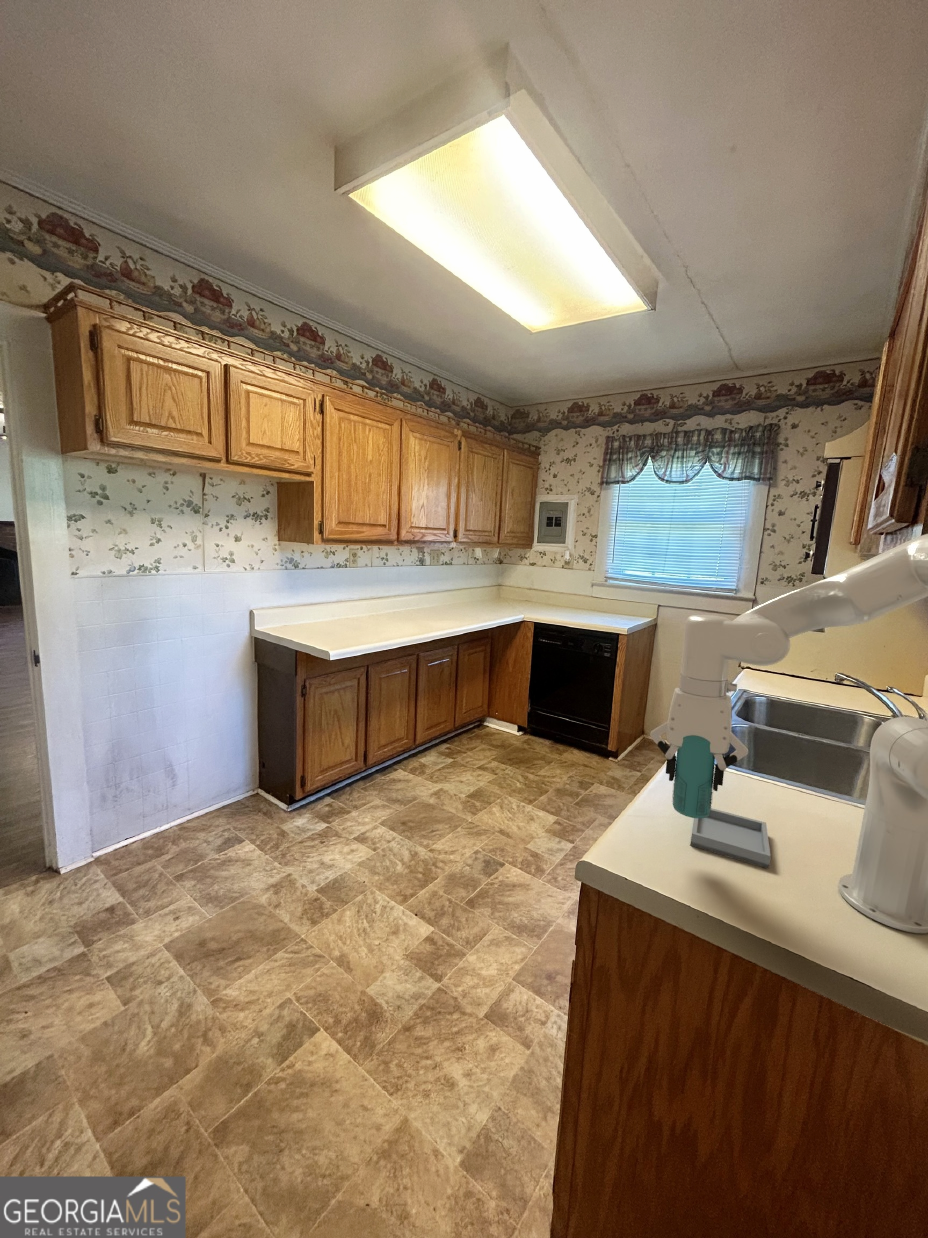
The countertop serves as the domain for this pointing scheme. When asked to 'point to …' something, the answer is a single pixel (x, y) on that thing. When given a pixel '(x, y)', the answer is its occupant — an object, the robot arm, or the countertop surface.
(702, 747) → the beverage bottle
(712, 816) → the tray
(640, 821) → the countertop surface
